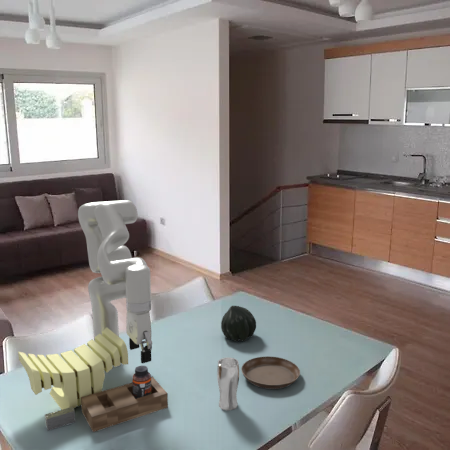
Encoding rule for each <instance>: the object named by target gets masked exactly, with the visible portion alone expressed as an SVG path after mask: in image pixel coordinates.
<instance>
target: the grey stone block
mask: <svg viewBox="0 0 450 450" xmlns="http://www.w3.org/2000/svg"><path fill="white" fill-rule="evenodd" d="M44 420H45V428H46V430H47V432H48V431H52V430H55V429H58V428H62V427H64V426H68V425H71V424H75V423H76V414H75V408H73V407H69V408H66V409H62V410H61V409H60V410H57V411H53V412H49V413H46V414H44Z"/></svg>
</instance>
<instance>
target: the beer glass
mask: <svg viewBox="0 0 450 450" xmlns="http://www.w3.org/2000/svg"><path fill="white" fill-rule="evenodd" d="M239 365H240V364H239V360H238V359H237V358H234V357H223V358H220V359H219V360H218V361H217V371H216V377H217V384H218V389H219V401H218V407H219V408H220V409H221V410H223V411H233V410H236V409H237V408H238V399H237V395H238V394H237V393H238V388H239V382H240V381H239V380H240V366H239Z"/></svg>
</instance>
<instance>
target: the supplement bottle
mask: <svg viewBox="0 0 450 450" xmlns="http://www.w3.org/2000/svg"><path fill="white" fill-rule="evenodd" d="M148 369H149V368H148V366H146V365H138V366H136V367H135V369H134V373H133V375H132V381H131V383H133V396H134V398H135V399H137V398H141V397H144V396H147V395H150V394H152V393H151V377H152V374H151V373H150V372H149V370H148Z"/></svg>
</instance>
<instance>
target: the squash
mask: <svg viewBox="0 0 450 450" xmlns="http://www.w3.org/2000/svg"><path fill="white" fill-rule="evenodd" d="M256 328H257V320H256V318H255V316H254V315H253V314H252V311H250V310H249V309H248V308H245V307H243V306H239V305H231V306H230V307H229V308H228V310H227V311H226V312H225V313H224V315H223V317H222V319H221V321H220V329H221V332H222V334H223V336H224V337H225V338H226V339H229V340H232V341H233V342H239V341H240V342H241V341H242V342H245V341H247V339H249V338H252V337H253V336H254V333H255V331H256Z"/></svg>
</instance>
